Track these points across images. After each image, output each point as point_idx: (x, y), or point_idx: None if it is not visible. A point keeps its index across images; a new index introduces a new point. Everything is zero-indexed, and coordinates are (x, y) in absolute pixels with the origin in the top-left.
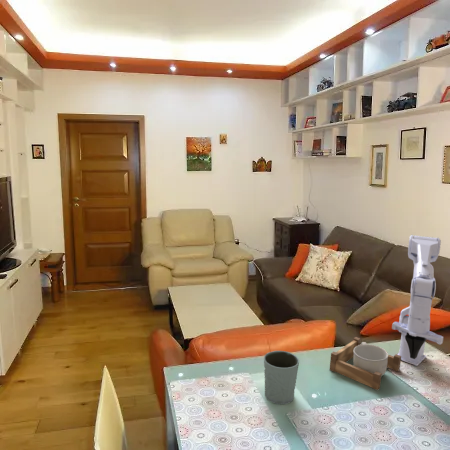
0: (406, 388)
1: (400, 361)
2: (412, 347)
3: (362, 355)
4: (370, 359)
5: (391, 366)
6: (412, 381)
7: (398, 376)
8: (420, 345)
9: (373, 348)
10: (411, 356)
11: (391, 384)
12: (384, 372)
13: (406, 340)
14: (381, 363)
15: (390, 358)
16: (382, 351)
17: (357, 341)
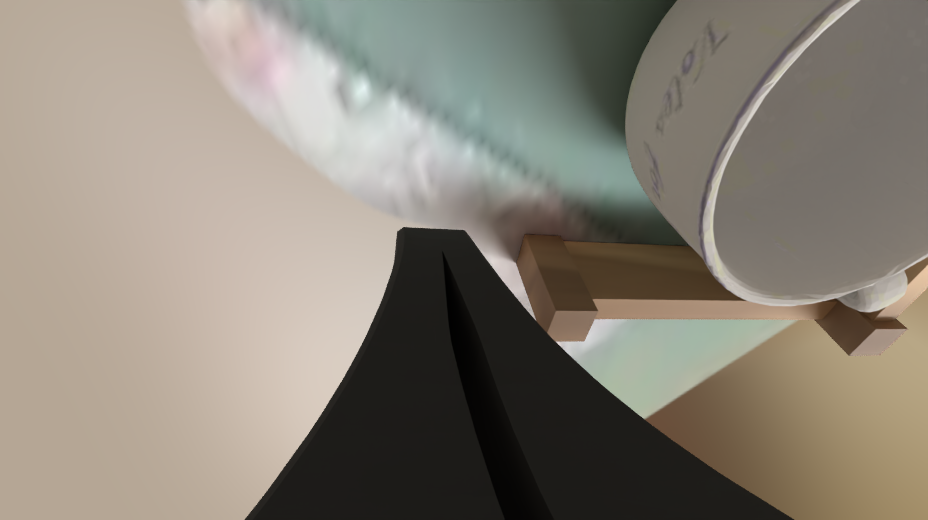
0: (414, 33)
1: (532, 305)
2: (484, 369)
3: (837, 189)
4: (747, 204)
5: (573, 251)
6: (405, 179)
7: (508, 179)
8: (271, 505)
9: (803, 274)
10: (452, 241)
11: (542, 11)
12: (642, 68)
13: (722, 481)
14: (767, 28)
15: (606, 291)
16: (733, 269)
17: (869, 319)
